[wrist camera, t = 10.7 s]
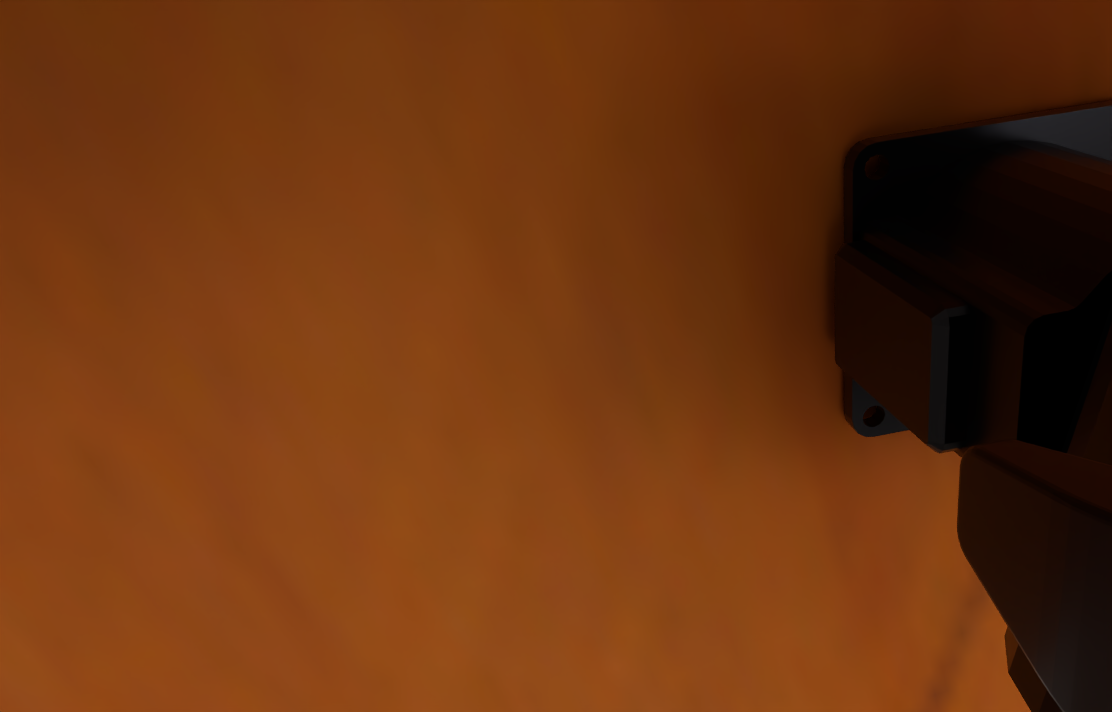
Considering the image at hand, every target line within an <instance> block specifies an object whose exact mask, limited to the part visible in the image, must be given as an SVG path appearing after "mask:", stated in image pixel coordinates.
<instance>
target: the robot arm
mask: <svg viewBox="0 0 1112 712" xmlns="http://www.w3.org/2000/svg"><path fill="white" fill-rule="evenodd" d="M875 155H878V156H879V160H880V163H879V167H878V169H877V170H876V171H875V172H874V174H871V175H869V176H866V174H865V170H864V169H865V165H866V162H867V161H868V160H869V159H870V157H872V156H875ZM835 361H836V364H837V365H838V366H839V367H840V368H841V369H843V370H844V414H845V418H846V421H847V422H848V423H849V424H850V426H851V427H852V428H853V429H854V430H855V431H856V432H857V433H858V434H860V435H863V436H865V437H874V436H880V435H885V434H890V433H895V432H900V431H905V430H910V431H911V432H912V433H914V434H915V435H916V436H917V437H918V438H919V439H920V440H921V441H922V442H924V443H925V444H926V445H927V446H929V447H930V448H931V449H932V450H934V451H935V452H937V453H944V452H949V451H955V452H956V453H957V454H958V455H959V456H960V457H962V459H961V464H960V476H959V496H958V515H957V532H958V539H959V542H960V546H961V548H962V551H963V553H964V555H965V557H966V559H967V560H968V562H969V564H970V565H971V567H972V568H973V570H974V572H975V573H976V575H977V577H978V578H979V580H980V582H981V583H982V585H983V586H984V588H985V590H986V591H987V593H988V595H989V596H990V598H991V600H992V601H993V603H994V605H995V606H996V608H997V609H998V611H999V613H1000V614H1001V616H1002V618H1003V619H1004V621H1005V623H1006V624H1007V626H1008V627H1007V630H1006V633H1005V645H1006V655H1007V665H1008V673H1009V675H1010V676H1011V678H1012V680H1013V681H1014V683H1015V685H1016V687H1017V688H1018V690H1019V692H1020V693H1021V695H1022V697H1023V698H1024V700H1025V702H1026V703H1027V705H1028V707H1029V708H1030V710H1031V712H1112V100H1110V101H1104V102H1097V103H1091V104H1085V105H1078V106H1072V107H1066V108H1059V109H1053V110H1046V111H1040V112H1034V113H1027V114H1021V115H1014V116H1008V117H1002V118H995V119H989V120H983V121H976V122H970V123H963V124H957V125H951V126H944V127H938V128H932V129H925V130H919V131H912V132H906V133H900V134H893V135H887V136H880V137H874V138H868V139H865V140H862V141H860V142H858V143H857V144H856V145H854V146H853V147H852V148H851V149H850V151H849V153H848V154H847V156H846V159H845V164H844V244H842V246H841V248H840V249H839V251H838V252H837V254H836V255H835ZM872 406H877V407H876V411H875V413H874V414H873V415H872V416H871V417H869V418H867V419H863V416H864V413H865V412H866V410H867V409H868V408H870V407H872Z"/></svg>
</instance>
